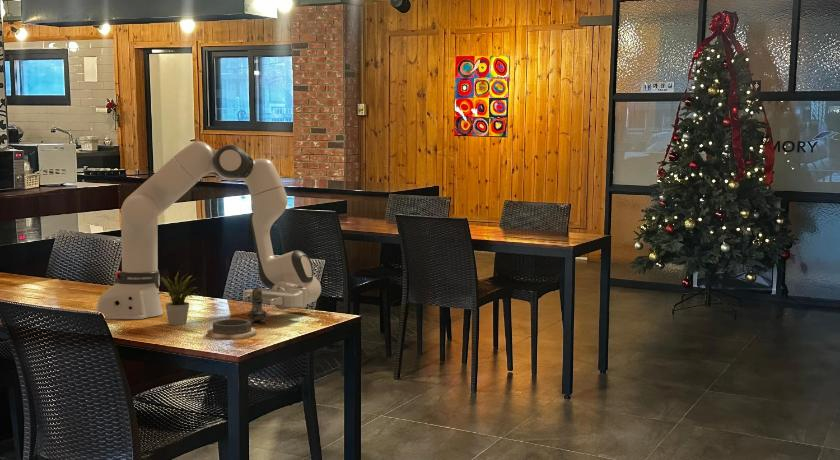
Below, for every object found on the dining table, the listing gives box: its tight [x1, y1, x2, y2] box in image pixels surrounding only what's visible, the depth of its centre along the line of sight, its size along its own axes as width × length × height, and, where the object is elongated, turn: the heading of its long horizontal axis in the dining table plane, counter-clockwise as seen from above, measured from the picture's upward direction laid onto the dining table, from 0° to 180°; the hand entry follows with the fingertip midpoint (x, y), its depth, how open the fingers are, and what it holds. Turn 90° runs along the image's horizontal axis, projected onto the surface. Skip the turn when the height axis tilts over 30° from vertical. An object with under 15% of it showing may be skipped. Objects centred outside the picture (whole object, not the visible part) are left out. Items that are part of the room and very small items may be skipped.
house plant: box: [153, 270, 198, 326], centre depth 284 cm, size 14×14×16 cm
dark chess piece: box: [247, 285, 268, 326], centre depth 287 cm, size 6×6×12 cm
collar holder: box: [206, 318, 258, 340], centre depth 270 cm, size 14×14×4 cm
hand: (257, 300), depth 287 cm, fingers open, 8 cm apart
